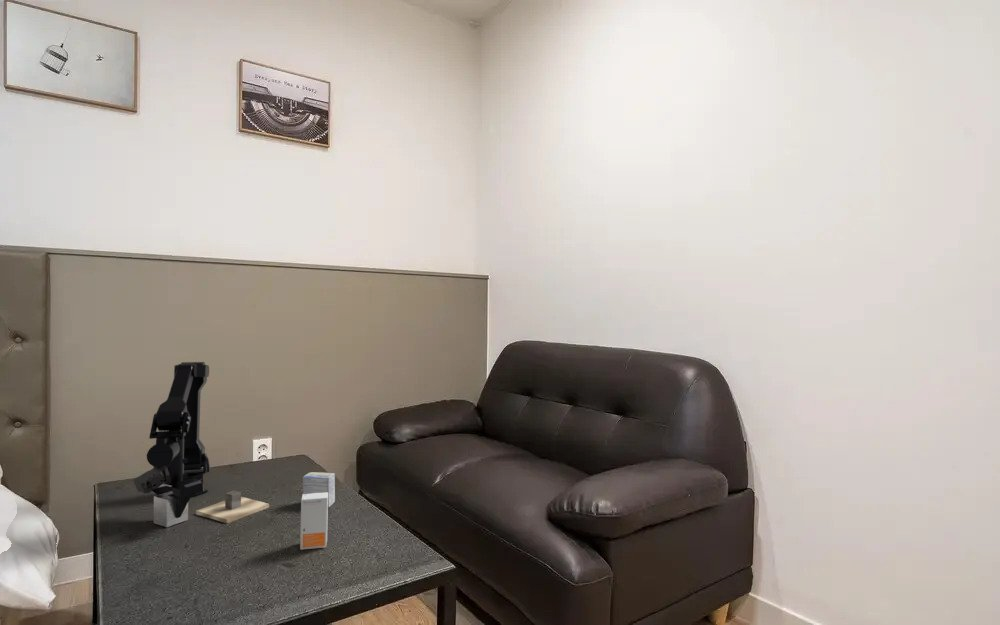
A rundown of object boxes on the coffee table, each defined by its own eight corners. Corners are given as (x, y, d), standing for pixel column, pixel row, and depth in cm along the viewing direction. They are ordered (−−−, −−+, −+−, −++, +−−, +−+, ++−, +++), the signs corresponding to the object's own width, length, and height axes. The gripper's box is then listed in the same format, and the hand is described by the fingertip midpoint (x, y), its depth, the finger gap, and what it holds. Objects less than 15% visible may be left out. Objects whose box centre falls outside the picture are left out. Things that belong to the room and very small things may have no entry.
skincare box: (299, 550, 126) (300, 499, 126) (301, 543, 130) (301, 493, 130) (327, 548, 128) (327, 497, 128) (327, 540, 132) (328, 491, 132)
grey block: (153, 523, 141) (153, 496, 140) (175, 515, 146) (175, 489, 145) (166, 527, 138) (166, 500, 138) (188, 519, 143) (188, 493, 143)
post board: (195, 514, 147) (196, 495, 147) (238, 499, 159) (238, 482, 159) (227, 523, 141) (227, 504, 141) (268, 507, 153) (269, 489, 153)
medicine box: (335, 502, 158) (335, 472, 157) (328, 508, 153) (329, 477, 153) (309, 501, 158) (309, 471, 158) (302, 506, 154) (302, 476, 154)
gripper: (117, 458, 139) (117, 519, 139) (161, 469, 130) (161, 534, 130) (161, 448, 149) (161, 505, 149) (205, 458, 140) (204, 518, 140)
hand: (171, 515), depth 142 cm, fingers closed on grey block, 6 cm apart
